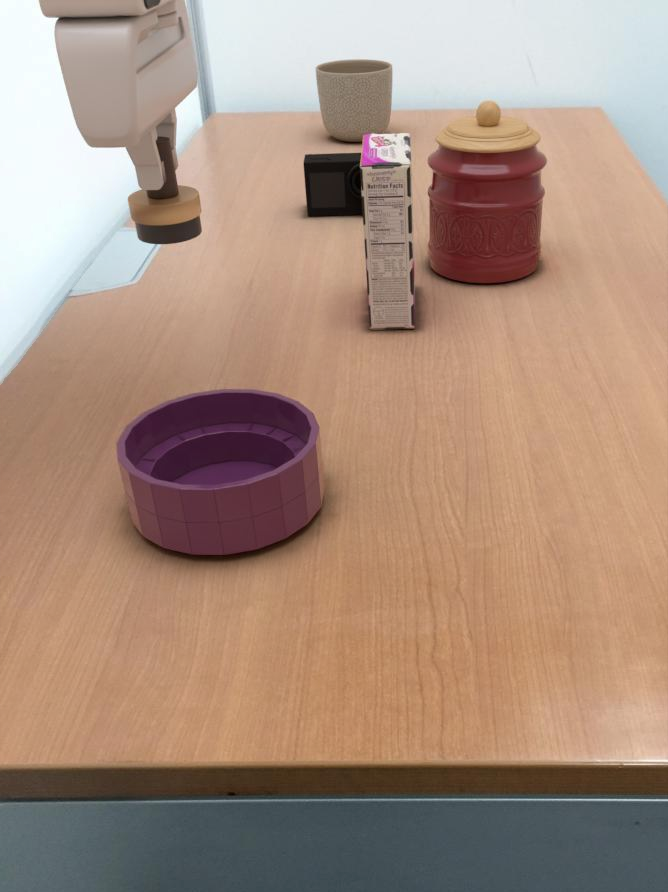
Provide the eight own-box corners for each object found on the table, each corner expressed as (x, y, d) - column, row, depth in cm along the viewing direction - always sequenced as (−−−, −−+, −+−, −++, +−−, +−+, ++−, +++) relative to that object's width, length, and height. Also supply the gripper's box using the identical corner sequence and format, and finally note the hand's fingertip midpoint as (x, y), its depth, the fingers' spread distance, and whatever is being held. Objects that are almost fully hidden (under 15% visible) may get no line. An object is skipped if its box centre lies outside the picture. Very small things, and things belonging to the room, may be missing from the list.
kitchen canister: (559, 258, 112) (572, 95, 102) (506, 294, 104) (514, 120, 93) (464, 239, 118) (466, 84, 108) (406, 272, 109) (403, 106, 99)
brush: (126, 246, 73) (107, 150, 69) (144, 223, 77) (127, 132, 73) (196, 244, 73) (181, 148, 69) (210, 222, 77) (197, 130, 73)
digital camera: (306, 219, 126) (301, 164, 121) (308, 207, 130) (304, 153, 126) (385, 217, 126) (383, 162, 122) (384, 204, 130) (382, 151, 126)
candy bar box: (368, 289, 105) (361, 132, 96) (414, 288, 105) (411, 131, 96) (366, 331, 96) (358, 162, 87) (415, 330, 96) (413, 161, 87)
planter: (316, 131, 164) (311, 61, 158) (387, 126, 166) (385, 57, 160) (324, 149, 154) (319, 75, 148) (400, 144, 156) (398, 71, 150)
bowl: (108, 560, 66) (89, 488, 63) (160, 454, 78) (146, 388, 74) (311, 563, 65) (304, 490, 62) (333, 456, 77) (328, 389, 73)
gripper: (120, -44, 73) (152, 146, 81) (24, -11, 57) (77, 223, 65) (201, -46, 73) (226, 144, 81) (129, -14, 56) (169, 222, 64)
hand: (159, 180), depth 73 cm, fingers closed on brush, 2 cm apart
